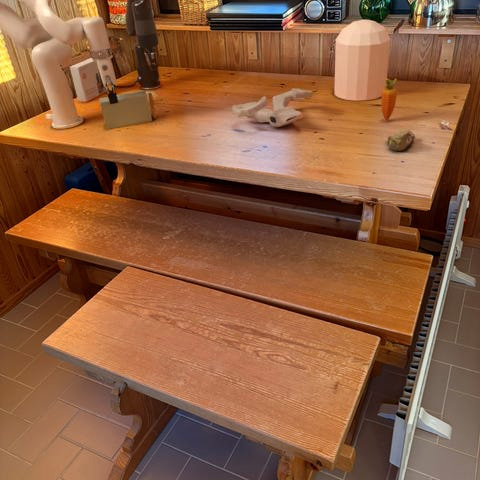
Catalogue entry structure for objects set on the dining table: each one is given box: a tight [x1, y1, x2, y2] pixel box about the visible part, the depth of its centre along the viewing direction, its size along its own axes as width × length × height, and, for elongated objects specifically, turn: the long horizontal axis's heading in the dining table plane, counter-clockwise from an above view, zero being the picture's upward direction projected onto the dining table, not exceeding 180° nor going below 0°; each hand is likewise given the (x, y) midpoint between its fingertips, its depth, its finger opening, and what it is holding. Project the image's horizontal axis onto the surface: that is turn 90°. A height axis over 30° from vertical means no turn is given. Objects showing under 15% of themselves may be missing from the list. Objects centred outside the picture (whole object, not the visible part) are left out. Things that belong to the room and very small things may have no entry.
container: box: [333, 19, 391, 102], centre depth 186 cm, size 21×21×28 cm
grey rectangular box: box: [98, 90, 153, 130], centre depth 184 cm, size 18×6×11 cm, turn 106°
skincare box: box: [69, 57, 108, 103], centre depth 218 cm, size 21×6×16 cm, turn 158°
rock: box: [387, 129, 416, 152], centre depth 146 cm, size 11×6×10 cm
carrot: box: [380, 78, 398, 122], centre depth 161 cm, size 5×5×15 cm
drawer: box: [147, 92, 168, 119], centre depth 185 cm, size 22×5×9 cm, turn 106°
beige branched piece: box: [231, 88, 314, 128], centre depth 171 cm, size 28×26×12 cm
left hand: (113, 100), depth 180 cm, fingers open, 9 cm apart
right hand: (154, 77), depth 180 cm, fingers open, 7 cm apart
